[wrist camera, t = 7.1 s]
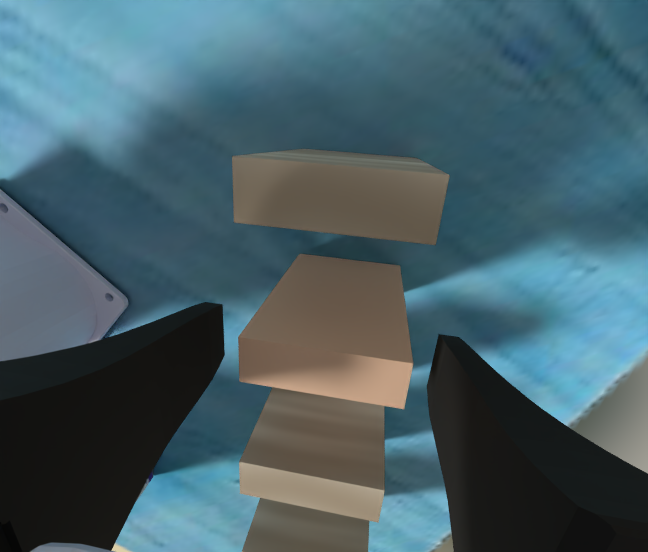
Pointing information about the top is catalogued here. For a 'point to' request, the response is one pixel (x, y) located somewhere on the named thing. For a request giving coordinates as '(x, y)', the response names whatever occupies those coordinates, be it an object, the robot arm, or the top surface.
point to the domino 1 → (340, 193)
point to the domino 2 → (332, 332)
